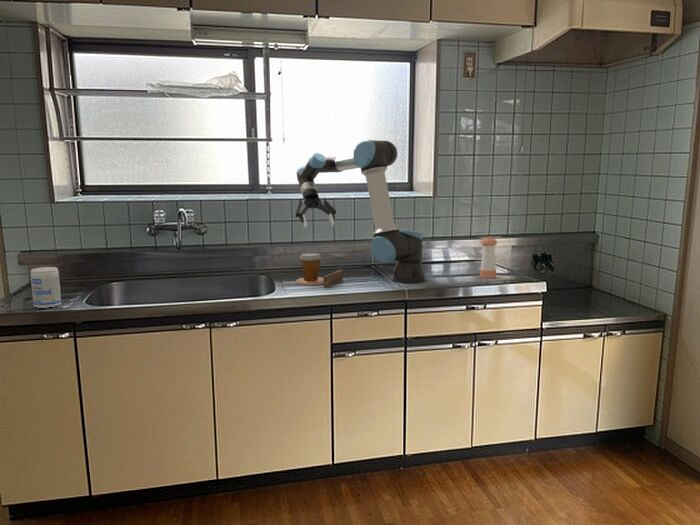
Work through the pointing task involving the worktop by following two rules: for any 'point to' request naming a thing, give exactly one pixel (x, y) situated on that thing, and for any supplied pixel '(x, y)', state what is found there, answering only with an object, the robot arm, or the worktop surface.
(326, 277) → the walnut wall
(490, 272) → the pepper shaker
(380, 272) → the worktop surface
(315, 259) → the disposable coffee cup
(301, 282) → the terracotta coaster
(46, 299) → the supplement tub
